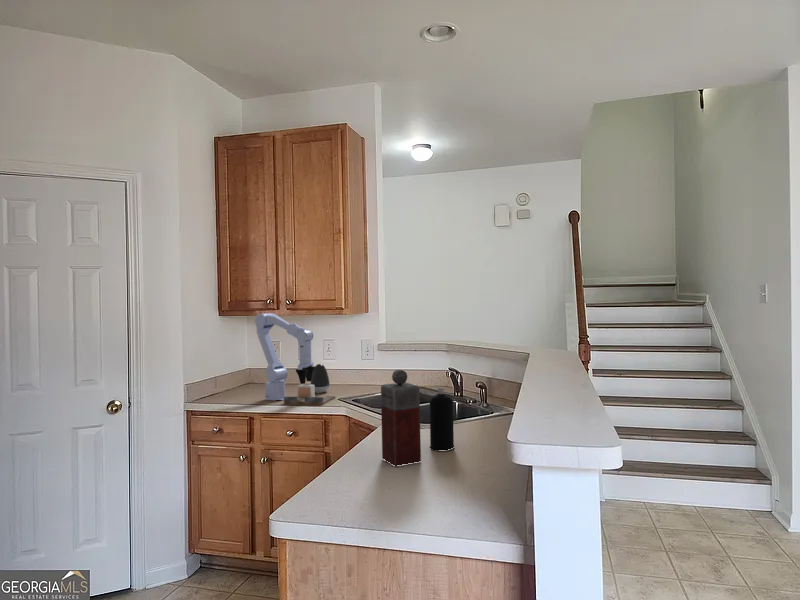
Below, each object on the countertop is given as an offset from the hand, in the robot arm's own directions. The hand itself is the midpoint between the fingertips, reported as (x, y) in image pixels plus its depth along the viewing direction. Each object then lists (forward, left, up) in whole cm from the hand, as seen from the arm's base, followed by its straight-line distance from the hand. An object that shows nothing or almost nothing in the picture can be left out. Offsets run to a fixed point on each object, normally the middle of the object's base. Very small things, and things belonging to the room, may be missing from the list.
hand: (305, 382), depth 259 cm
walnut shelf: (+1, +2, -9) cm, 10 cm away
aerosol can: (+77, -68, -10) cm, 103 cm away
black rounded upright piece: (-3, +26, -10) cm, 28 cm away
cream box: (0, 0, -8) cm, 8 cm away
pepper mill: (+66, -83, -10) cm, 107 cm away
